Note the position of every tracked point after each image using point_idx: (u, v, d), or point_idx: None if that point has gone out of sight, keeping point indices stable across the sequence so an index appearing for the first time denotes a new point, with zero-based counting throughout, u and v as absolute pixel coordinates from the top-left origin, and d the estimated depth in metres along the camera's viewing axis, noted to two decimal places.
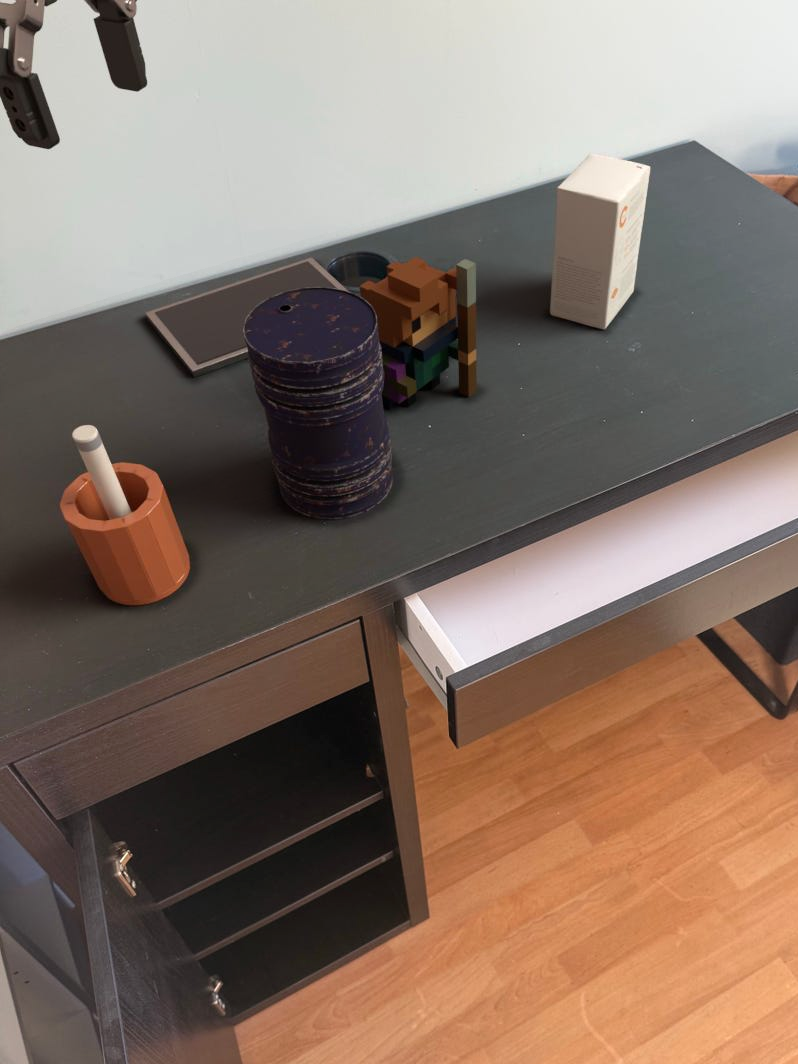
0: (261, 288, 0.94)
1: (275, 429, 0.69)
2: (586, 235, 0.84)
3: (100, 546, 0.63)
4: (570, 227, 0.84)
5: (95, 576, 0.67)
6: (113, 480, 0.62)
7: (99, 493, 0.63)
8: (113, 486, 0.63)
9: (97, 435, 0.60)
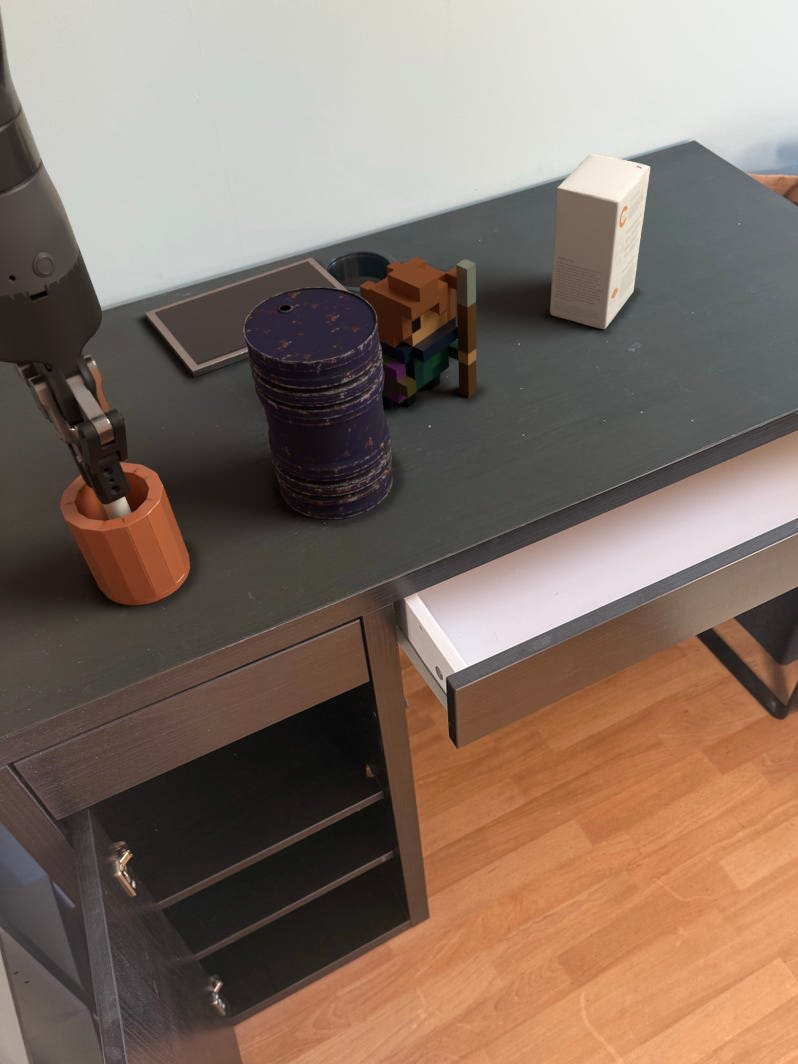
0: (261, 288, 0.94)
1: (275, 429, 0.69)
2: (586, 235, 0.84)
3: (100, 546, 0.63)
4: (569, 227, 0.84)
5: (95, 576, 0.67)
6: None
7: None
8: None
9: None
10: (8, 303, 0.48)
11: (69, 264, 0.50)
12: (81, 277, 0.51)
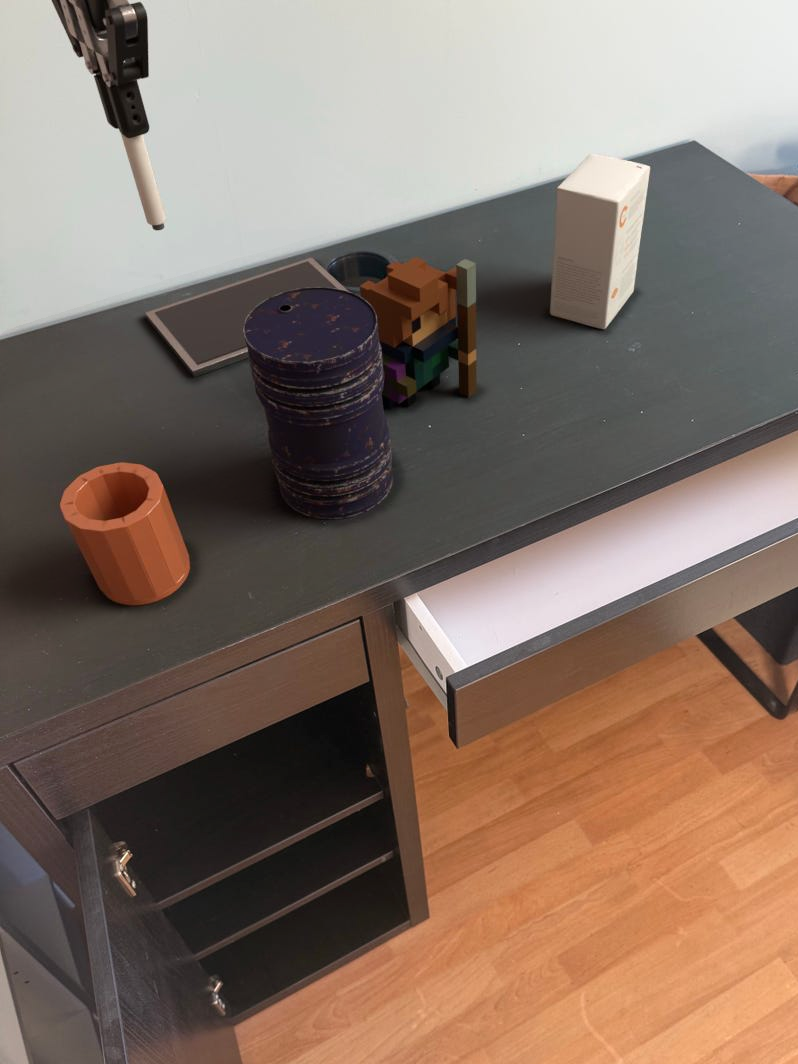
0: (261, 288, 0.94)
1: (275, 429, 0.69)
2: (586, 235, 0.84)
3: (100, 546, 0.63)
4: (569, 227, 0.84)
5: (95, 576, 0.67)
6: None
7: None
8: None
9: None
10: None
11: None
12: None
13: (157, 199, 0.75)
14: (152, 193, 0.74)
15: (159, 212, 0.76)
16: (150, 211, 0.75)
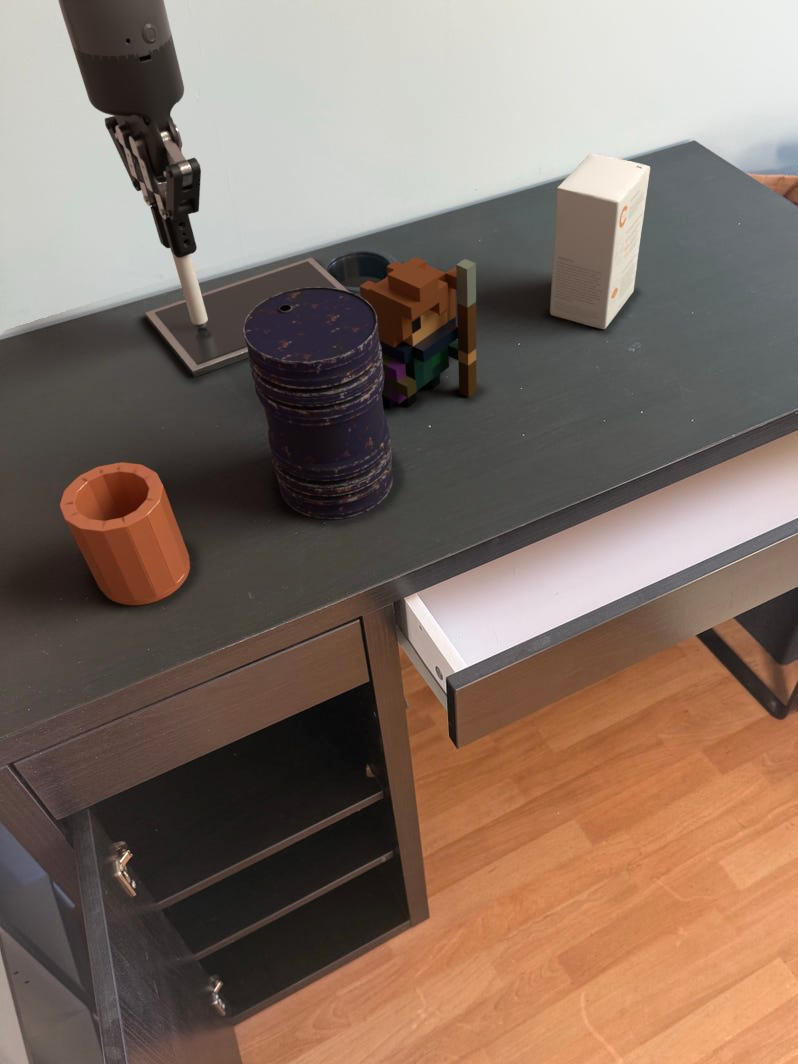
0: (261, 288, 0.94)
1: (275, 429, 0.69)
2: (586, 235, 0.84)
3: (100, 546, 0.63)
4: (569, 227, 0.84)
5: (95, 576, 0.67)
6: None
7: None
8: None
9: None
10: (123, 62, 0.68)
11: (165, 38, 0.69)
12: (172, 52, 0.70)
13: (201, 304, 0.87)
14: (197, 299, 0.86)
15: (202, 314, 0.88)
16: (195, 313, 0.87)
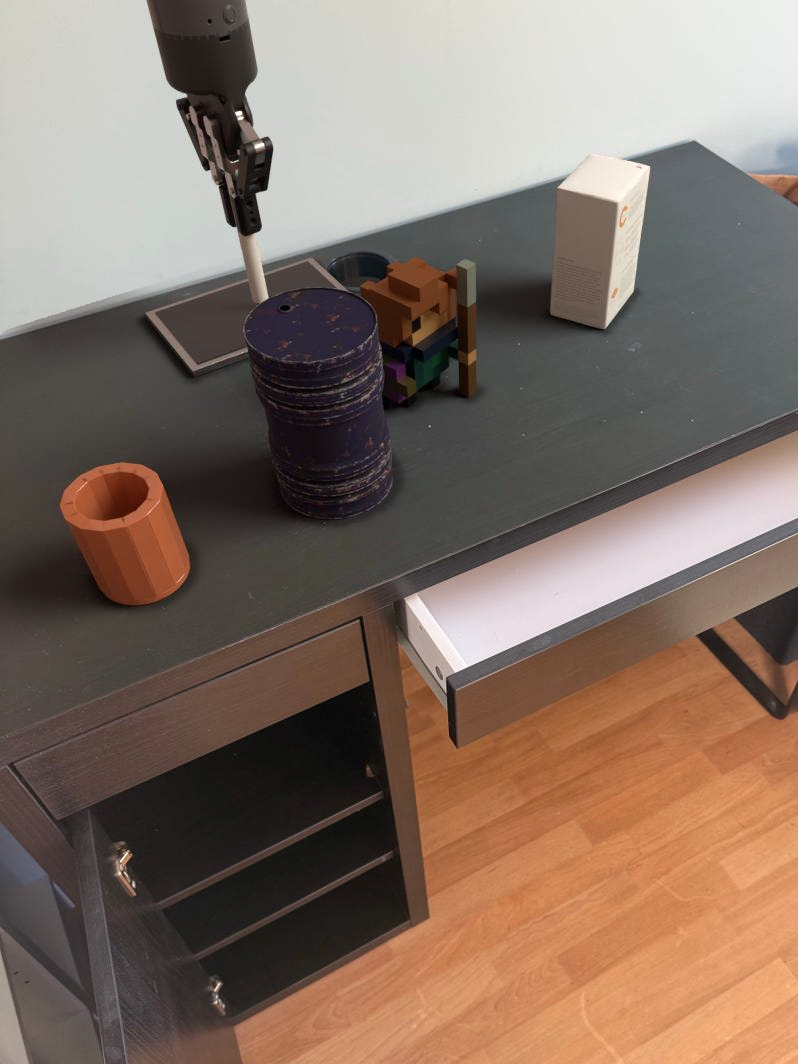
0: None
1: (275, 429, 0.69)
2: (586, 235, 0.84)
3: (100, 546, 0.63)
4: (569, 227, 0.84)
5: (95, 576, 0.67)
6: None
7: None
8: None
9: None
10: (204, 42, 0.70)
11: (243, 19, 0.71)
12: (249, 33, 0.72)
13: (263, 282, 0.89)
14: (260, 277, 0.88)
15: (264, 292, 0.90)
16: (257, 292, 0.89)
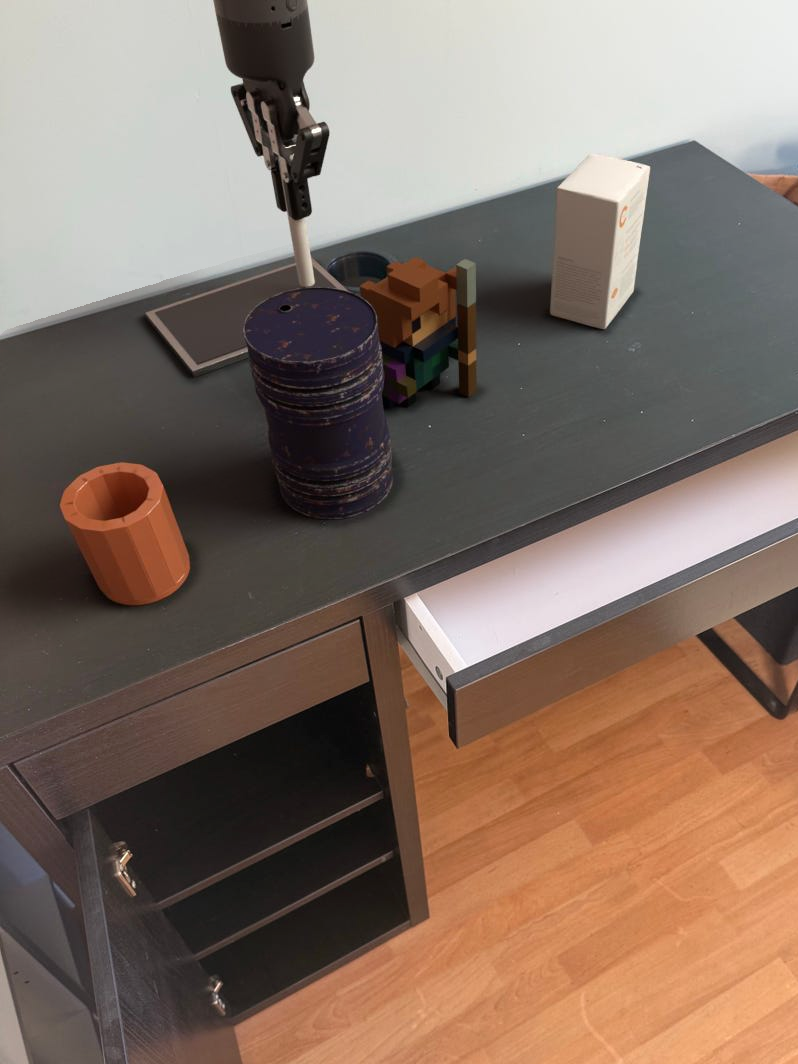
0: (261, 288, 0.94)
1: (275, 429, 0.69)
2: (586, 235, 0.84)
3: (100, 546, 0.63)
4: (569, 227, 0.84)
5: (95, 576, 0.67)
6: None
7: None
8: None
9: None
10: (267, 29, 0.72)
11: (304, 7, 0.73)
12: (308, 20, 0.74)
13: (310, 266, 0.91)
14: (307, 261, 0.90)
15: (311, 276, 0.92)
16: (304, 276, 0.91)
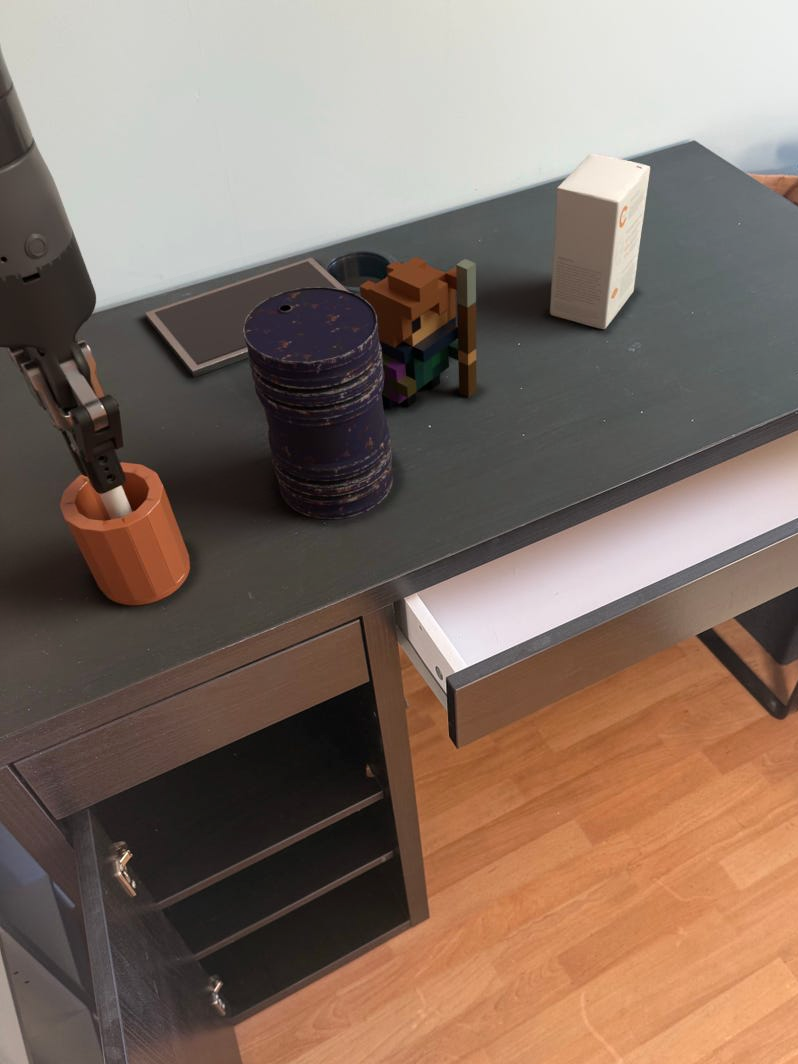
0: (261, 288, 0.94)
1: (275, 429, 0.69)
2: (586, 235, 0.84)
3: (100, 546, 0.63)
4: (569, 227, 0.84)
5: (95, 576, 0.67)
6: None
7: None
8: None
9: None
10: None
11: (62, 246, 0.49)
12: (74, 260, 0.50)
13: None
14: None
15: None
16: None
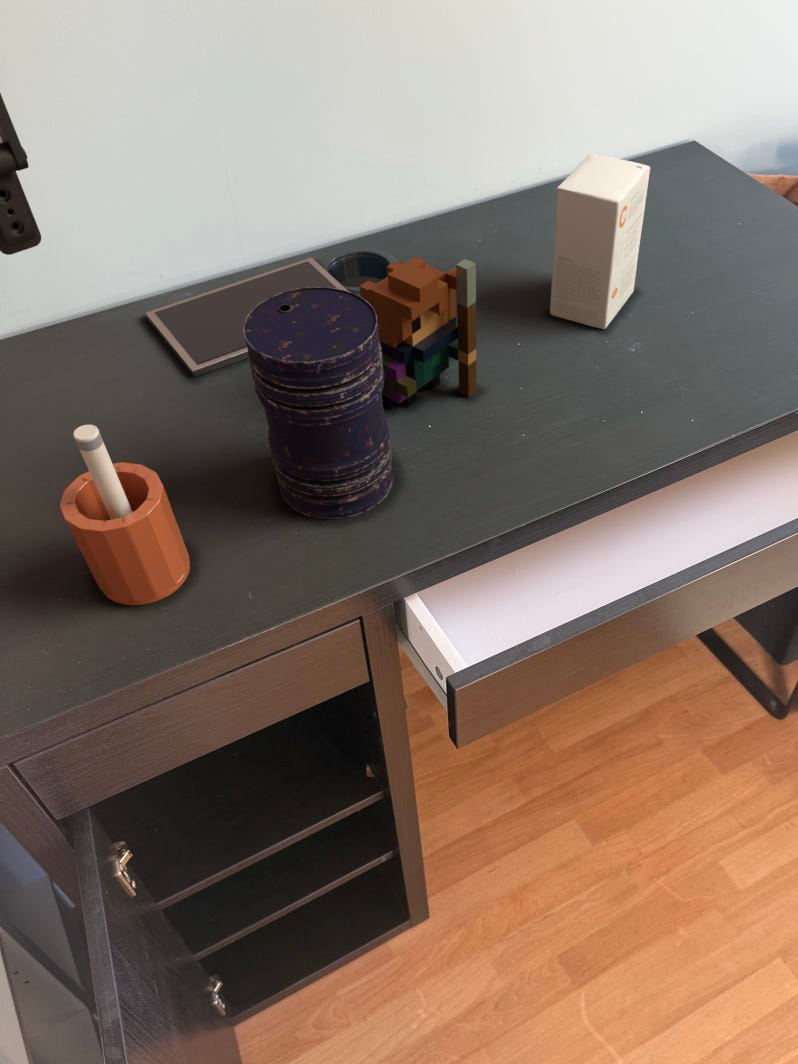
0: (261, 288, 0.94)
1: (275, 429, 0.69)
2: (586, 235, 0.84)
3: (100, 546, 0.63)
4: (569, 227, 0.84)
5: (95, 576, 0.67)
6: (114, 480, 0.63)
7: (100, 492, 0.63)
8: (114, 485, 0.63)
9: (98, 434, 0.60)
10: None
11: None
12: None
13: None
14: None
15: None
16: None
